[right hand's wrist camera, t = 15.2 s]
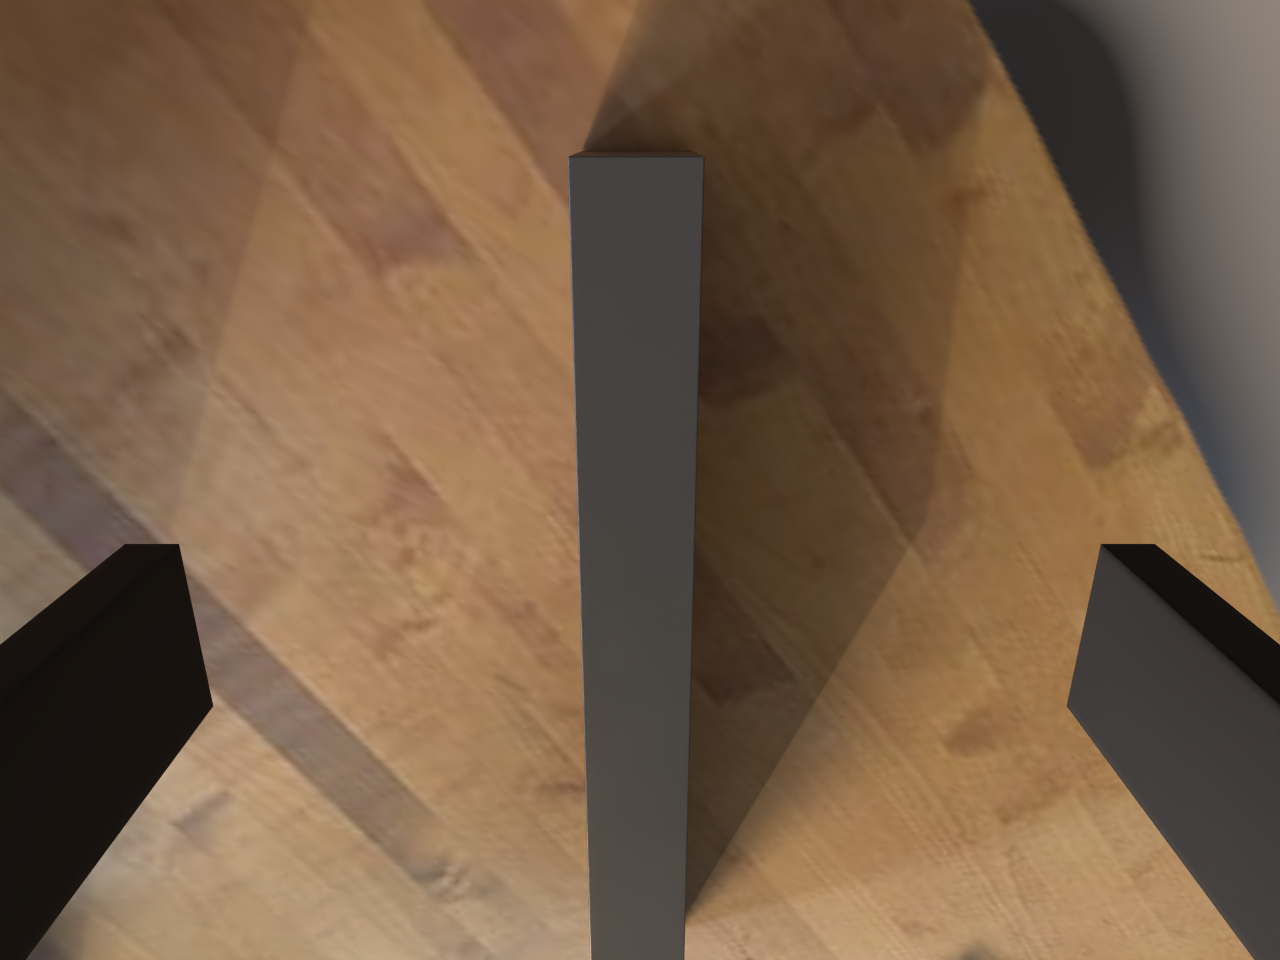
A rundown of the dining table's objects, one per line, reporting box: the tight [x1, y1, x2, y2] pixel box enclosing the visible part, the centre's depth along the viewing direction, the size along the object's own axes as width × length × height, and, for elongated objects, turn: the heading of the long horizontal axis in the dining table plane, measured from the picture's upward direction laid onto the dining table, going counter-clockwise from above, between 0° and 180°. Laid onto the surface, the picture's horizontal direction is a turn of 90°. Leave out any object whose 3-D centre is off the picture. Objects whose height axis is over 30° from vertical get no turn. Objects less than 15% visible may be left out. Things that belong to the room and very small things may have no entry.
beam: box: [568, 151, 704, 960], centre depth 48 cm, size 51×5×8 cm, turn 0°
